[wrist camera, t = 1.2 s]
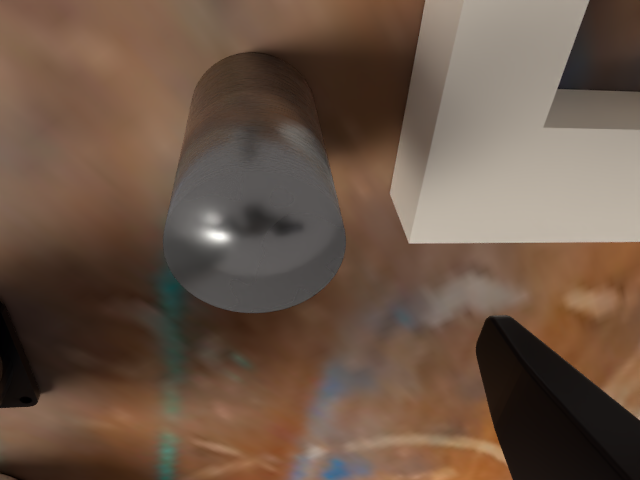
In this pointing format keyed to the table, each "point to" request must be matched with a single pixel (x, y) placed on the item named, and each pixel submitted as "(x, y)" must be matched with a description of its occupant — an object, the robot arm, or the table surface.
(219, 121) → the grey metal cylinder
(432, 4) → the block
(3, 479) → the teacup with lid
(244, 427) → the table surface
